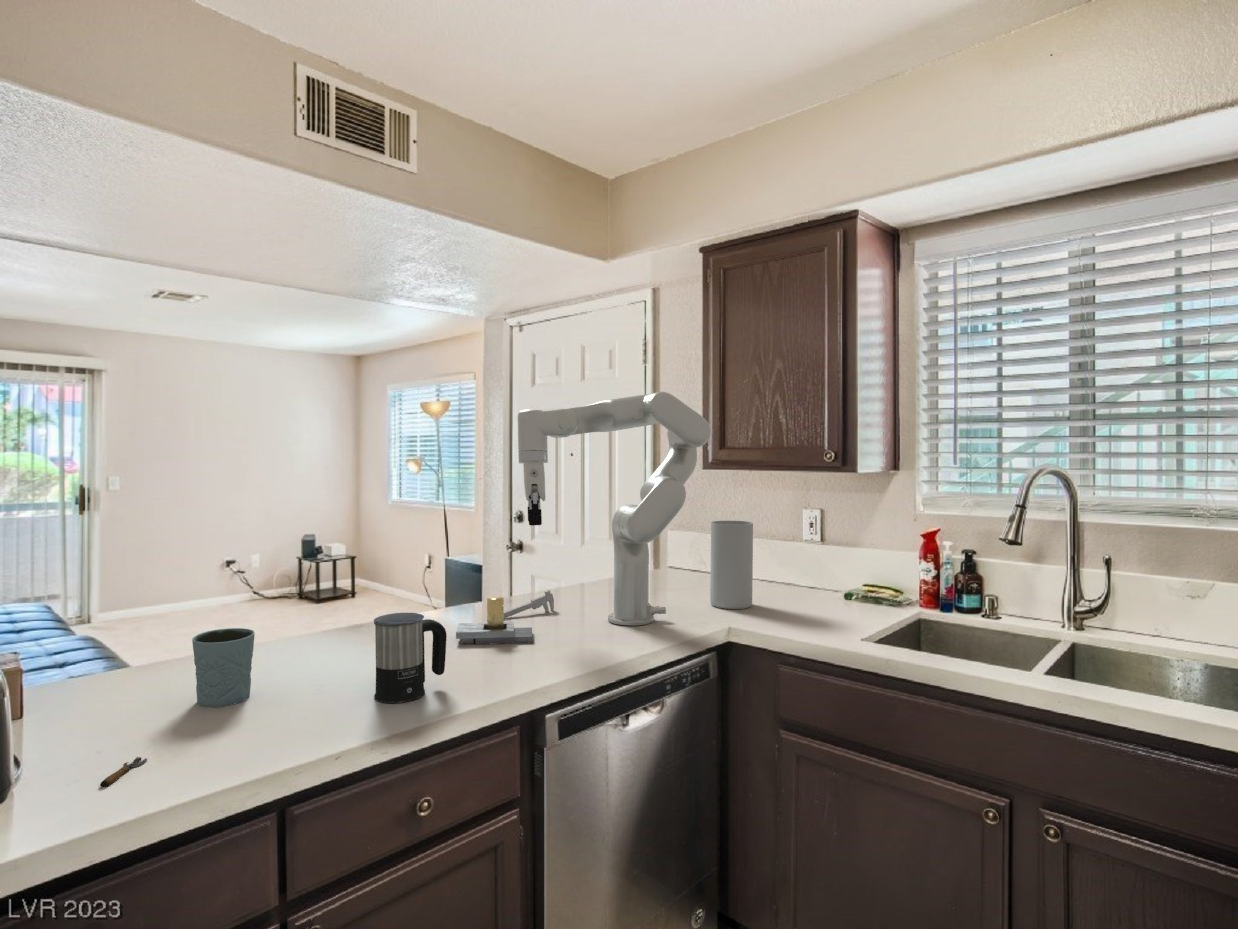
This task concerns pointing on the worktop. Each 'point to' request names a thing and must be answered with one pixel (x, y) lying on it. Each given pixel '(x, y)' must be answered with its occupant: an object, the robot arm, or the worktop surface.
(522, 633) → the grey socket block
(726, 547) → the cylinder vase
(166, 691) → the worktop surface
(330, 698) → the worktop surface
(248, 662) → the embossed planter pot
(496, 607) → the pin
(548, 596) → the caliper
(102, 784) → the can opener
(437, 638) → the milk frother
